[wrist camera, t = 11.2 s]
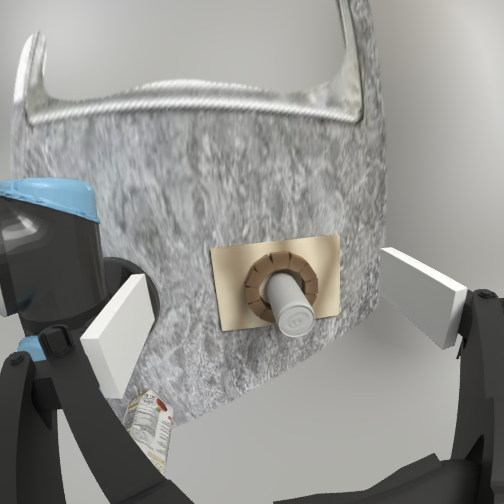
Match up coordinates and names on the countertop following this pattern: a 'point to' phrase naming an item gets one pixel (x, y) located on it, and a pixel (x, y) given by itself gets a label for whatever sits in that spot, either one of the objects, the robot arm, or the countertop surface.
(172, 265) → the countertop surface
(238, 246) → the collar board
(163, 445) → the juice carton
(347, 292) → the countertop surface
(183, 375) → the countertop surface
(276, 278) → the beverage can
